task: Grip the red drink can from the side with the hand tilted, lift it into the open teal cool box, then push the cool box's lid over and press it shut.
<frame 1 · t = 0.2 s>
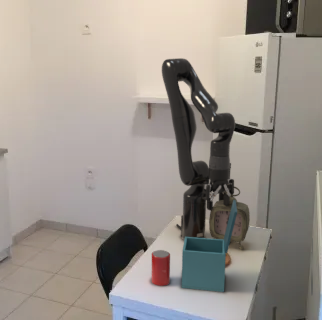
hand: (218, 207, 167), 18 cm above the table, tool pointing down, fingers open, 8 cm apart
cooler: (203, 281, 149), on the table
can: (160, 281, 150), on the table
wine bottle: (224, 229, 192), on the table
cooler lid: (230, 225, 143), point 21 cm above the table, hinge at 100.0°
tabletop clock: (228, 245, 177), on the table, touching gripper
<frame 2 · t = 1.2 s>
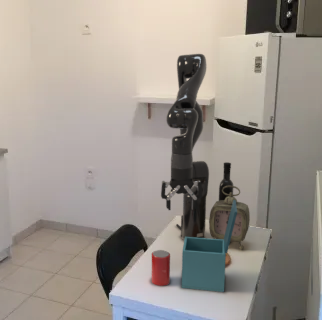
hand: (181, 209, 157), 21 cm above the table, tool pointing down, fingers open, 8 cm apart
tabletop clock: (228, 245, 177), on the table
everything else where it was.
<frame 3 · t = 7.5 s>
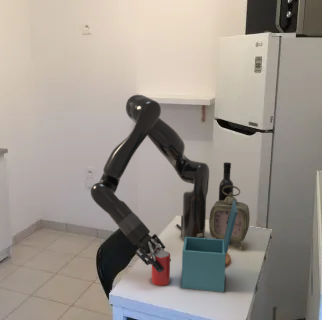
hand: (165, 266, 148), 6 cm above the table, tool tilted 45°, fingers closed on can, 6 cm apart
can: (160, 281, 150), on the table, touching gripper
everything else where it was.
when the fingers open (16 cm above the table, at t = 15.2 s): can drops 10 cm, resting on cooler.
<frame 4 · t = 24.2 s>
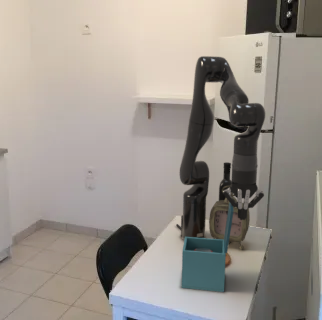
hand: (242, 219, 141), 23 cm above the table, tool pointing down, fingers closed
can: (202, 278, 149), point 1 cm above the table, touching cooler
cooler lid: (228, 225, 143), point 21 cm above the table, hinge at 95.4°, touching gripper, hand
everything else where it was.
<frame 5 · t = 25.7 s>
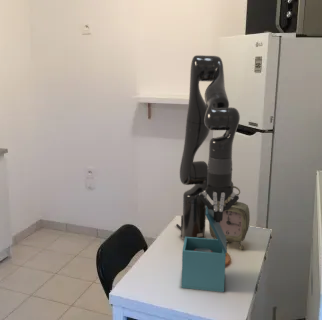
hand: (217, 221, 143), 22 cm above the table, tool pointing down, fingers closed
cooler lid: (216, 226, 144), point 20 cm above the table, hinge at 63.4°, touching gripper
everything else where it was.
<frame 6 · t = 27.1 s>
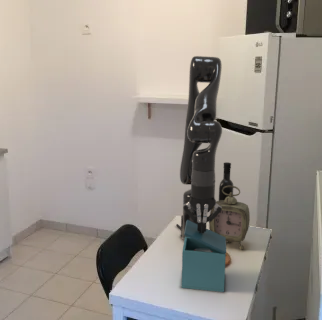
hand: (201, 232, 145), 18 cm above the table, tool pointing down, fingers closed
cooler lid: (205, 236, 145), point 17 cm above the table, hinge at 22.9°
everything else where it was.
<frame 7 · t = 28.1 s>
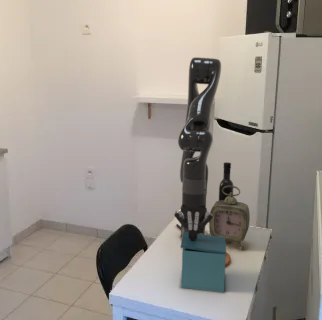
hand: (192, 239, 147), 15 cm above the table, tool pointing down, fingers closed
cooler lid: (203, 242, 146), point 14 cm above the table, hinge at 3.9°, touching gripper
everything else where it was.
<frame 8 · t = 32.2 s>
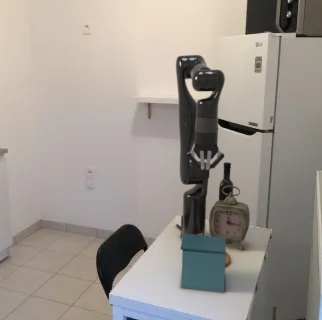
hand: (204, 179, 152), 33 cm above the table, tool pointing down, fingers closed
cooler lid: (203, 243, 146), point 14 cm above the table, hinge at 1.3°
everything else where it was.
at the end: can 0.3 cm from the cooler (horizontally); can point 0.8 cm above the table; cooler lid at +1° (first picture: +100°) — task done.
